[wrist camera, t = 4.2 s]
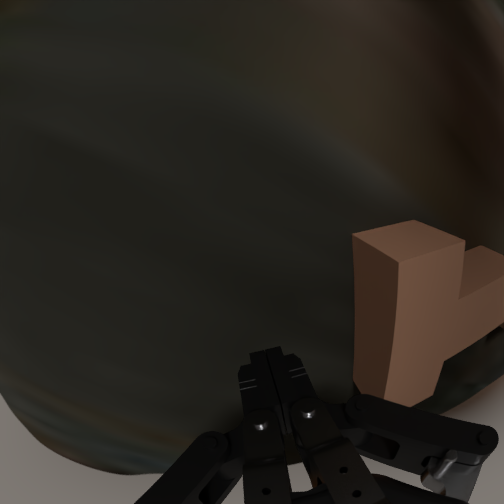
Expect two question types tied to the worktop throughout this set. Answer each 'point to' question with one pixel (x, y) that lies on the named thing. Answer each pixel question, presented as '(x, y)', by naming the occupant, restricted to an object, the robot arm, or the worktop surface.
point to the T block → (418, 306)
